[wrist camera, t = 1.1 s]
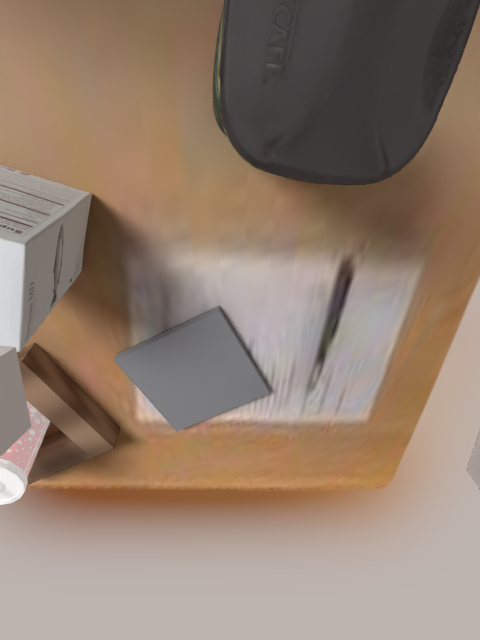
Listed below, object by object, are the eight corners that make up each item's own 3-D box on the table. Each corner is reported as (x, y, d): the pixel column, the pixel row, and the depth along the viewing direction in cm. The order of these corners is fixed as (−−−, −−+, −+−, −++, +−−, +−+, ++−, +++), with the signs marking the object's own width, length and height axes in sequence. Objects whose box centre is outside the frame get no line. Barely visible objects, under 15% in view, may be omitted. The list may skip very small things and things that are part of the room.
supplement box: (84, 272, 32) (20, 358, 21) (-7, 247, 30) (-126, 327, 20) (96, 191, 29) (28, 245, 18) (-6, 158, 27) (-148, 196, 16)
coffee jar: (307, 154, 28) (429, 221, 13) (207, 139, 27) (204, 190, 12) (342, -5, 24) (614, -222, 8) (222, -32, 22) (254, -348, 7)
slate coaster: (116, 354, 37) (113, 360, 36) (219, 305, 35) (219, 311, 34) (177, 424, 43) (176, 431, 42) (268, 387, 41) (269, 393, 40)
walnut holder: (-71, 395, 38) (-91, 416, 35) (34, 342, 36) (21, 361, 33) (26, 467, 45) (15, 490, 42) (120, 427, 43) (114, 448, 40)
